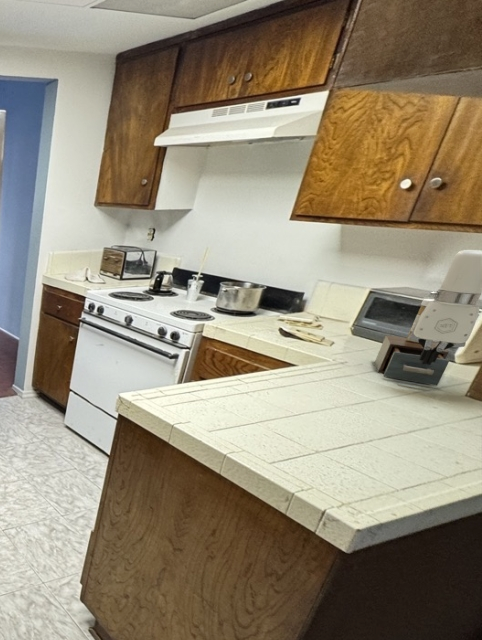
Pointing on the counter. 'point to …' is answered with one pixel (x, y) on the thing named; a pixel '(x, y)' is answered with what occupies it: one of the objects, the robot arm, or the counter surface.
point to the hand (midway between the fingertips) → (425, 363)
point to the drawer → (414, 366)
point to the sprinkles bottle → (423, 306)
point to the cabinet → (401, 343)
